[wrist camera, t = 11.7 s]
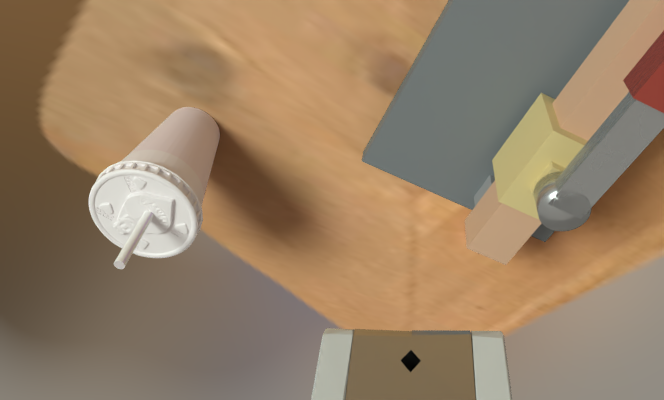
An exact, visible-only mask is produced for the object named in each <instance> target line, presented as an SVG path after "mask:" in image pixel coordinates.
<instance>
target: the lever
mask: <svg viewBox="0 0 664 400" xmlns="http://www.w3.org/2000/svg"><path fill="white" fill-rule="evenodd" d="M623 81H624V83H625V85H626V87H627V88H628V90H629V92H628V94H627V95H626V96H625V97H624V98H623V100H622V101H621V102H620V103H619V104H618V106H617V107H616V108H615V109H614V110H613V112H612V113H611V114H610V115H609V116H608V118H607V119H606V120H605V121H604V122H603V124H602V125H601V126H600V127H599V128H598V130H597V131H596V132H595V133H594V134H593V136H592V137H591V138H590V139H589V140H588V142H587V143H586V144H585V145H584V146H583V148H582V149H581V150H580V151H579V152H578V154H577V155H576V156H575V157H574V158H573V160H572V161H571V162H570V163H569V165H568V166H567V167H566V168H565V169H564V171H559V172H553V173H550V174H548V175H546V176H544V177H543V178H541V179H540V180H539V181H538V183H537V184H536V186H535V188H534V199H535V203H536V208H537V212H538V216H539V220H540V221H541V223H542V224H543V225H544V226H545V227H547V228H549V229H551V230H554V231H569V230H573V229H576V228H578V227H579V226H581V225H582V224H584V223H585V222H586V221H587V219H588V218H589V216H590V213H591V208H592V206H593V205H594V204H595V203H596V202H597V201H598V200H599V199H600V198H601V197H602V195H603V194H604V193H605V192H606V191H607V190H608V189H609V188H610V187H611V185H612V184H613V183H614V182H615V181H616V180H617V179H618V178H619V177H620V176H621V174H622V173H623V172H624V171H625V170H626V169H627V168H628V167H629V166H630V165H631V163H632V162H633V161H634V160H635V159H636V158H637V157H638V156H639V155H640V154H641V152H642V151H643V150H644V149H645V148H646V147H647V146H648V145H649V144H650V143H651V141H652V140H653V139H654V138H655V137H656V136H657V135H658V134H659V133H660V132H661V130H662V129H663V128H664V31H663V32H662V33H661V34H660V36H659V37H658V38H657V39H656V40H655V42H654V43H653V44H652V45H651V47H650V48H649V49H648V50H647V52H646V53H645V54H644V55H643V56H642V58H641V59H640V60H639V61H638V63H637V64H636V65H635V66H634V67H633V69H632V70H631V71H630V72H629V74H628V75H627V76H626V77H625V79H624V80H623Z"/></svg>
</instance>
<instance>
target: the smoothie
mask: <svg viewBox="0 0 664 400" xmlns="http://www.w3.org/2000/svg"><path fill="white" fill-rule="evenodd" d="M219 139H220V132H219V128H218V125H217V123H216V122H215V120H214V119H213V118H212V117H211V116H210V115H209V114H207V113H206V112H204V111H202V110H200V109H197V108H193V107H183V108H180V109H177V110H176V111H174V112H173V113H172V114H171V115H170V116H169V117H168V118H167V119H165V120H164V121H163V122H162V123H161V124H160V125H159V126H158V127H157V128H156V129H155V130H154V131H153V132H152V133H151V134H150V135H149V136H148V137H147V138H145V139H144V140H143V141H142V142H141V143H140V144H139V145H138V146H137V147H136V148H135V149H134V150H133V151H132V152H131V153H130V154H129V155H128V156H126V157H125V158H124V159H123V160H122V161H121V162H118V163H116V164H113V165H111V166H109V167H107V168H106V169H105V170H104V171H103V172H102V173H101V174H100V175H99V177H98V179H97V180H96V183H95V184H94V185H93V187H92V189H91V191H90V195H89V209H90V213H91V216H92V218H93V221H94V222H95V224H96V226H97V227H98V229H99V230H100V231H101V232H102V233H103V234H104V235H105V237H107V238H108V239H109V240H110V241H111V242H113V243H114V244H115V245H117V246H119V247H120V248H122V250H121V252H120V254H119V256H118V257H117V259H116V260H115V262H114V265H115V267H117V268H119V269H123V268H124V267H125V265H126V264H127V262H128V260H129V258H130V256H131V255H132V253H133V254H136V255H139V256H143V257H149V258H166V257H171V256H175V255H177V254H179V253H181V252H183V251H185V250H186V249H187V248H188V247H189V246H190V245H191V244H192V243H193V241H194V239H195V237H196V235H197V234H198V232H199V231H200V228H201V225H202V221H203V216H202V207H201V206H202V203H203V198H204V195H205V191H206V187H207V184H208V180H209V176H210V173H211V169H212V165H213V161H214V158H215V154H216V150H217V147H218V143H219Z"/></svg>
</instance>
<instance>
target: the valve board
mask: <svg viewBox="0 0 664 400" xmlns="http://www.w3.org/2000/svg"><path fill="white" fill-rule="evenodd" d="M663 31H664V0H449V1H448V3H447V5H446V6H445V8H444V10H443V12H442V13H441V15H440V17H439V19H438V20H437V22H436V24H435V26H434V28H433V29H432V31H431V33H430V35H429V36H428V38H427V40H426V42H425V43H424V45H423V47H422V49H421V51H420V52H419V54H418V56H417V58H416V59H415V61H414V63H413V65H412V67H411V68H410V70H409V72H408V74H407V75H406V77H405V79H404V81H403V82H402V84H401V86H400V88H399V90H398V91H397V93H396V95H395V97H394V98H393V100H392V102H391V104H390V105H389V107H388V109H387V111H386V113H385V114H384V116H383V118H382V120H381V121H380V123H379V125H378V127H377V128H376V130H375V132H374V134H373V136H372V137H371V139H370V141H369V143H368V144H367V146H366V148H365V150H364V151H363V157H362V161H363V162H365V163H367V164H369V165H372V166H374V167H376V168H378V169H381V170H383V171H385V172H387V173H390V174H392V175H394V176H397V177H399V178H401V179H403V180H406V181H408V182H410V183H412V184H415V185H417V186H419V187H421V188H424V189H426V190H428V191H431V192H433V193H435V194H437V195H440V196H442V197H444V198H446V199H449V200H451V201H453V202H455V203H458V204H460V205H462V206H464V207H467V208H469V209H471V210H472V211H471V213H470V214H469V215H468V217H467V218H466V219H465V233H466V246H467V249H470V250H472V251H474V252H477V253H479V254H481V255H484V256H486V257H488V258H491V259H493V260H495V261H498V262H500V263H502V264H505V265H506V264H507V263H508V262H509V261H510V260H511V259H512V257H513V256H514V255H515V254H516V253H517V251H518V250H519V249H520V248H521V247H522V246H523V244H524V243H525V242H526V241H527V240H528V239H529V237H530V236H532V237H535V238H537V239H539V240H541V241H544V242H546V240H547V239H548V238H549V237H550V236H551V235H552V234H553V232H554V230H551V229H549V228H547V227H545V226H544V225H543V224H542V223H541V221H540V220H539V216H538V212H537V208H536V203H535V199H534V188H535V186H536V184H537V183H538V181H539V180H540V179H541V178H543V177H544V176H546V175H548V174H550V173H553V172H559V171H564V169H565V168H566V167H567V166H568V165H569V163H570V162H571V161H572V160H573V158H574V157H575V156H576V155H577V154H578V152H579V151H580V150H581V149H582V148H583V146H584V145H585V144H586V143H587V142H588V140H589V139H590V138H591V137H592V136H593V134H594V133H595V132H596V131H597V130H598V128H599V127H600V126H601V125H602V124H603V122H604V121H605V120H606V119H607V118H608V116H609V115H610V114H611V113H612V112H613V110H614V109H615V108H616V107H617V106H618V104H619V103H620V102H621V101H622V100H623V98H624V97H625V96H626V95H627V94H628V92H629V90H628V88H627V87H626V85H625V83H624V81H623V80H624V79H625V77H626V76H627V75H628V74H629V72H630V71H631V70H632V69H633V67H634V66H635V65H636V64H637V63H638V61H639V60H640V59H641V58H642V56H643V55H644V54H645V53H646V52H647V50H648V49H649V48H650V47H651V45H652V44H653V43H654V42H655V40H656V39H657V38H658V37H659V36H660V34H661V33H662V32H663Z"/></svg>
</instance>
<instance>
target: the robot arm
mask: <svg viewBox="0 0 664 400" xmlns="http://www.w3.org/2000/svg"><path fill="white" fill-rule="evenodd" d="M311 400H512V394H511V386H510V379H509V372H508V364H507V356H506V348H505V340H504V335H503V334H502V332H501V331H471V333H470V331H392V330H366V329H327V328H326V330H325V332H324V334H323V336H322V342H321V348H320V354H319V359H318V364H317V371H316V376H315V381H314V387H313V393H312V398H311Z"/></svg>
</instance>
